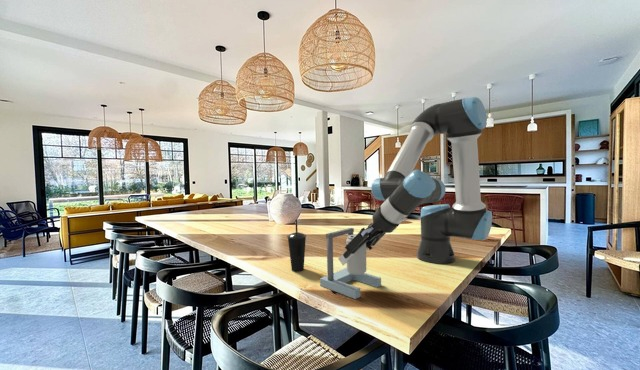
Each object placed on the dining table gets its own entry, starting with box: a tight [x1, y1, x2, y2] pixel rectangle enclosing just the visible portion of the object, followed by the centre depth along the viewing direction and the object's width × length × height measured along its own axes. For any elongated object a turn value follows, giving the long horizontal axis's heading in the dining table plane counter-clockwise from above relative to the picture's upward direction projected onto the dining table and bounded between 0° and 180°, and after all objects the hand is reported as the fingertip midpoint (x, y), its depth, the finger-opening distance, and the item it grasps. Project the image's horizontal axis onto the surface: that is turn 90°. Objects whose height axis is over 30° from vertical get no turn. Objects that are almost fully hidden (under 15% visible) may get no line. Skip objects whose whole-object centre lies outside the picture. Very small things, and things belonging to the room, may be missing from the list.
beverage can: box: [345, 234, 367, 275], centre depth 89 cm, size 6×6×12 cm
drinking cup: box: [286, 219, 307, 272], centre depth 109 cm, size 8×8×20 cm
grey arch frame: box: [319, 227, 382, 300], centre depth 92 cm, size 15×14×18 cm
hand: (347, 259), depth 92 cm, fingers closed on beverage can, 6 cm apart
